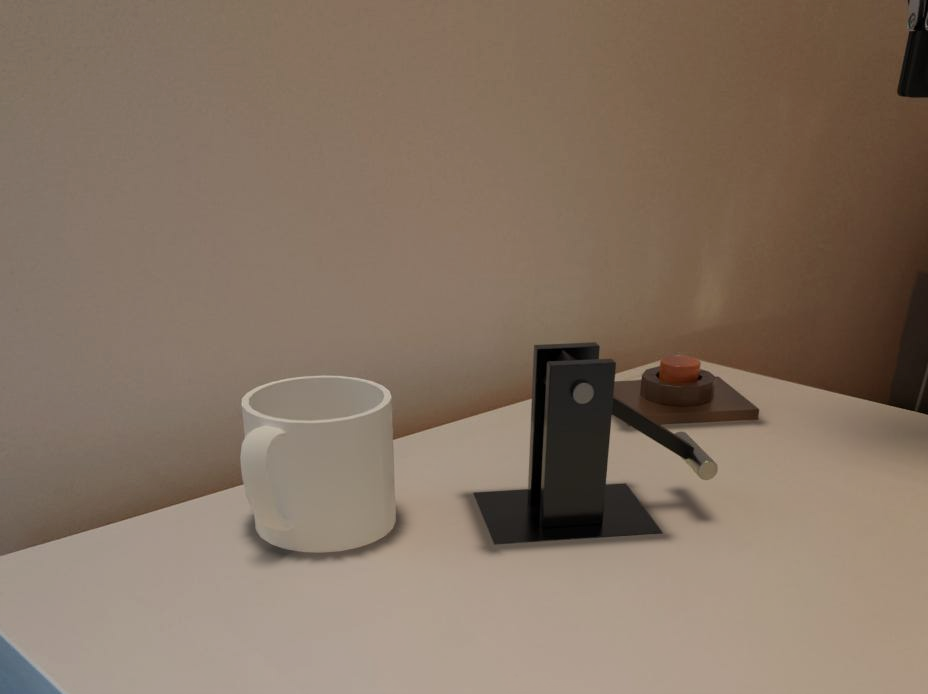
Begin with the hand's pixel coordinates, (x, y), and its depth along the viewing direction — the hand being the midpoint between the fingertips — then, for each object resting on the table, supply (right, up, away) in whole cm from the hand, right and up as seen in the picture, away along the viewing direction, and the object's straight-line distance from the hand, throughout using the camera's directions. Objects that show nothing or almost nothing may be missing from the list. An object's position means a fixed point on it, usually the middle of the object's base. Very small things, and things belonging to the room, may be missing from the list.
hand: (922, 96), depth 71 cm
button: (-12, -15, +21) cm, 29 cm away
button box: (-12, -18, +23) cm, 32 cm away
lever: (-22, -24, -1) cm, 32 cm away
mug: (-43, -32, +1) cm, 54 cm away
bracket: (-25, -30, +3) cm, 40 cm away
